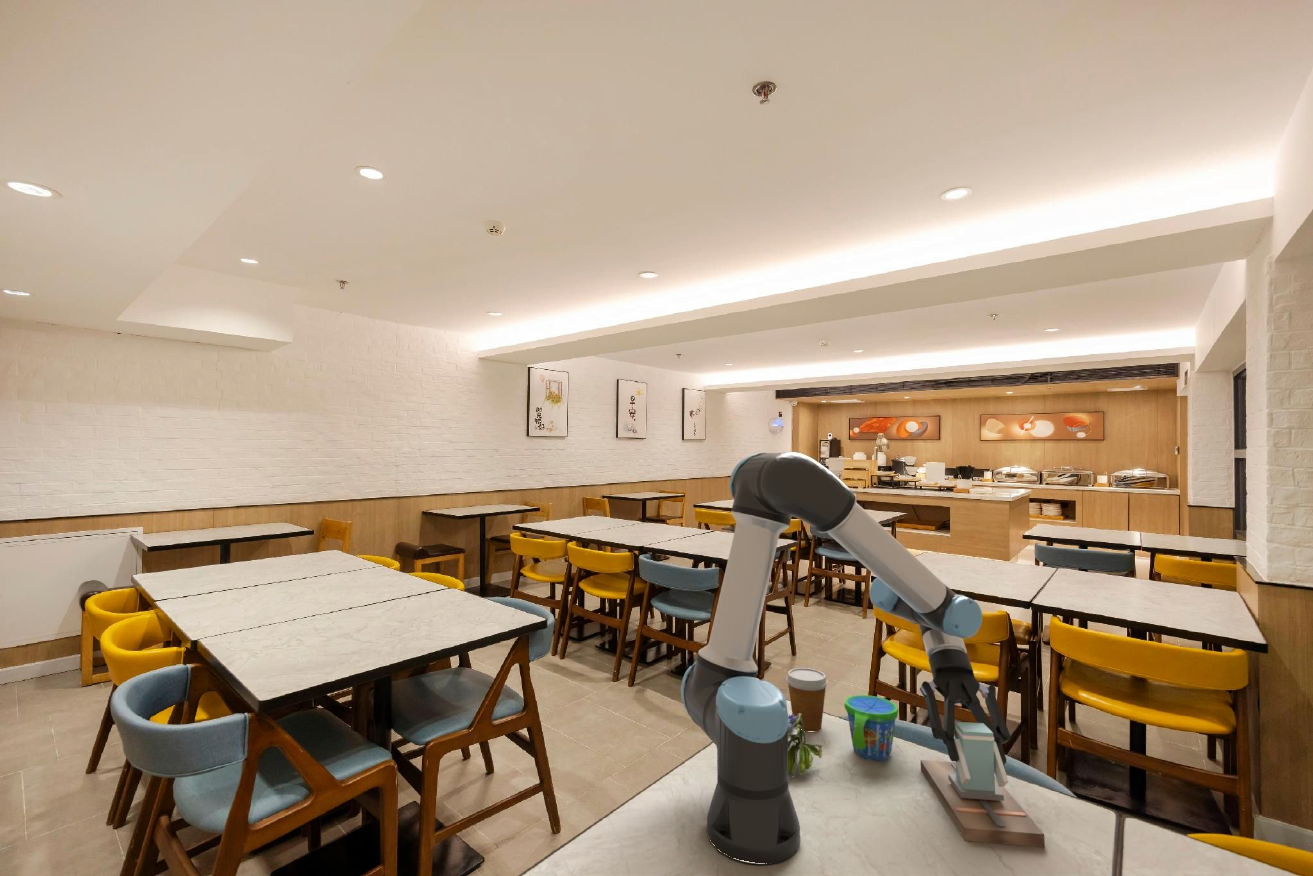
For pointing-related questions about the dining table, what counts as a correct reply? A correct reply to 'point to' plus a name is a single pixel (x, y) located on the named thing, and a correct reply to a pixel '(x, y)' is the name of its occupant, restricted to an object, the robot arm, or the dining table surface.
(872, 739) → the snack cup
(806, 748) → the passion flower
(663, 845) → the dining table surface
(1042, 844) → the fader track
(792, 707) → the disposable coffee cup
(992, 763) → the cap
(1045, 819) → the dining table surface
